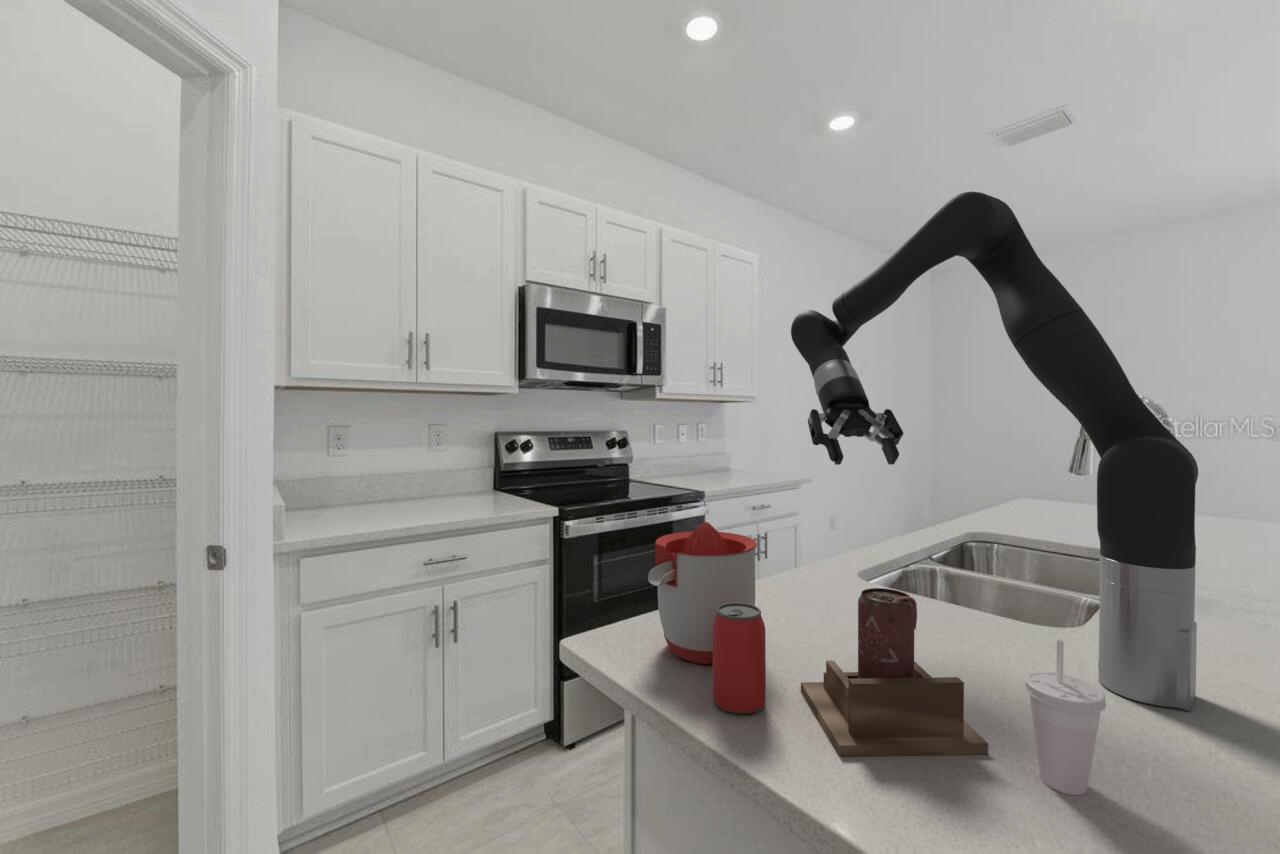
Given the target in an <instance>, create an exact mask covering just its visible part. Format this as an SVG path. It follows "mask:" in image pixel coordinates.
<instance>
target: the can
mask: <svg viewBox="0 0 1280 854" xmlns="http://www.w3.org/2000/svg"><path fill="white" fill-rule="evenodd" d="M917 606H918V605H917V601H916V599H915V598H913V597H912V596H910V595H909V594H907V593H906V592H902V591H900V590H896V589H895V590H894V589H889V588H884V587H883V588H879V587H873V588H866V589H864V590H861V593H860V596H859V598H858V599H857V672H858V679H864V678H914V661H915V630H917V623H918V622H917V621H918V607H917Z"/></svg>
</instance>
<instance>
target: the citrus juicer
mask: <svg viewBox="0 0 1280 854" xmlns="http://www.w3.org/2000/svg"><path fill="white" fill-rule="evenodd" d="M756 548H758V543H757V542H756V540H754V539H753V538H752V537H749V536H746V535H742V534H737V533H733V532H727V531H726V532H725V531H718V530H717V529H716V528H715V527H714V526H713V525H712V524H711V523H709V522H707V521H702V523H701V524H699V525H698V526H697V527H696V528H695V530H693V531H691V530H690V531H681V532H674V533H673V532H672V533H669V534H665V535H662V536H659V537H658V538H657V539H656V540H655V566H654V567H653V568H651V569H650V570H649V572H648V573H647V574H648V576H647V581H648V583H649V584H651V585H653V586H656V587H657V604H658V613H659V618H660V619H659V621H660V624H661V627H662V630H663V636H664V639H665V641H666V644H667V646H668V648H669V650H670V652H671V653H672V654H673V655H674V656H676V657H678V658H680V659H683V660H685V661H689V662H692V663H695V664H697V665H705V664H713V622H714V619H715V616H716V614H717V610H716V609H717V608H718V606H720V605H722V604H725V603H738V602H739V603H747V604H751V605H754V606H756Z"/></svg>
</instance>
